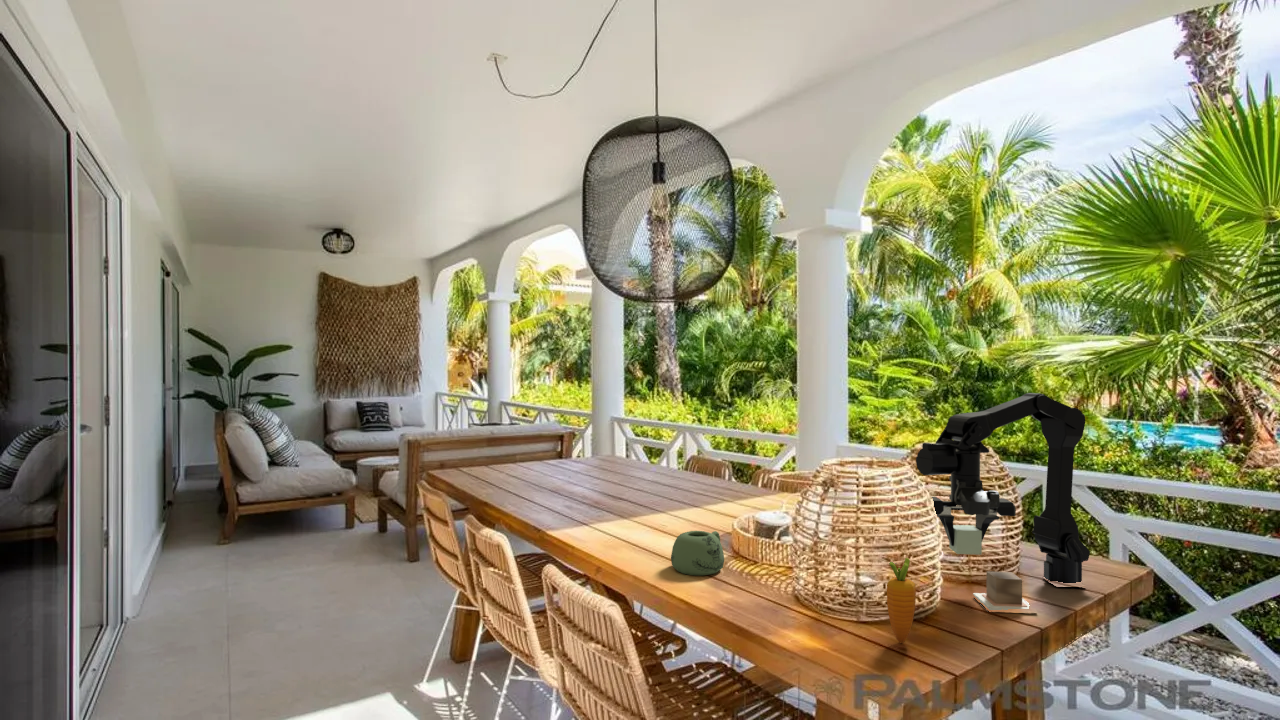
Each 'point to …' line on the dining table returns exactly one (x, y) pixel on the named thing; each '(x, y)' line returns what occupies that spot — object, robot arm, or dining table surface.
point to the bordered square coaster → (993, 606)
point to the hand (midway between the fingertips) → (965, 546)
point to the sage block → (967, 540)
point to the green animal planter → (697, 553)
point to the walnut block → (1004, 588)
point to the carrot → (901, 601)
